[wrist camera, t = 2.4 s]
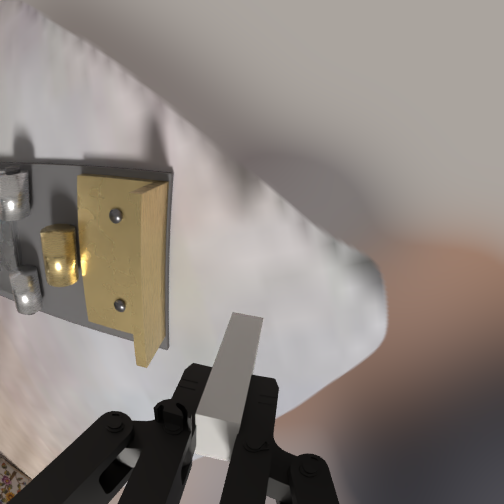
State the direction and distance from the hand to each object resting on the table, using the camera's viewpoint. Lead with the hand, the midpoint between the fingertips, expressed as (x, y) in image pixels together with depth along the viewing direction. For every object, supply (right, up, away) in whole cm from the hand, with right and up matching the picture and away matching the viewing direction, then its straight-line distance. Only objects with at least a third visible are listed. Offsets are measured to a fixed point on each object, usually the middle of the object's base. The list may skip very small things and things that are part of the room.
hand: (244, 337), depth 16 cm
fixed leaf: (-22, +6, +7) cm, 24 cm away
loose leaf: (-10, +4, +6) cm, 13 cm away
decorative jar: (-65, -59, +39) cm, 96 cm away
